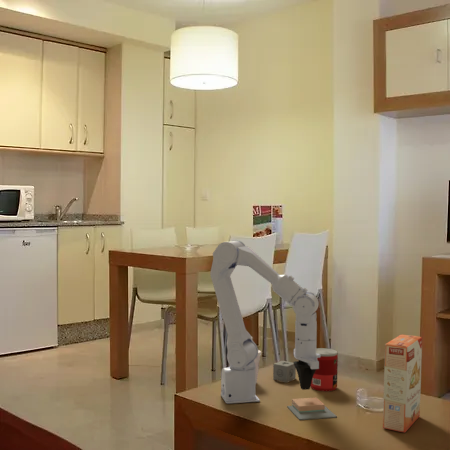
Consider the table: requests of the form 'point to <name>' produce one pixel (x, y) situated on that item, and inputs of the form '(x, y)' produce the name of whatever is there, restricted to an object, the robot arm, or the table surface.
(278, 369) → the dice cube
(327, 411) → the mat
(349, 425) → the table surface
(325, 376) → the canned food
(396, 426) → the cracker box
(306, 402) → the tile
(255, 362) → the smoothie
